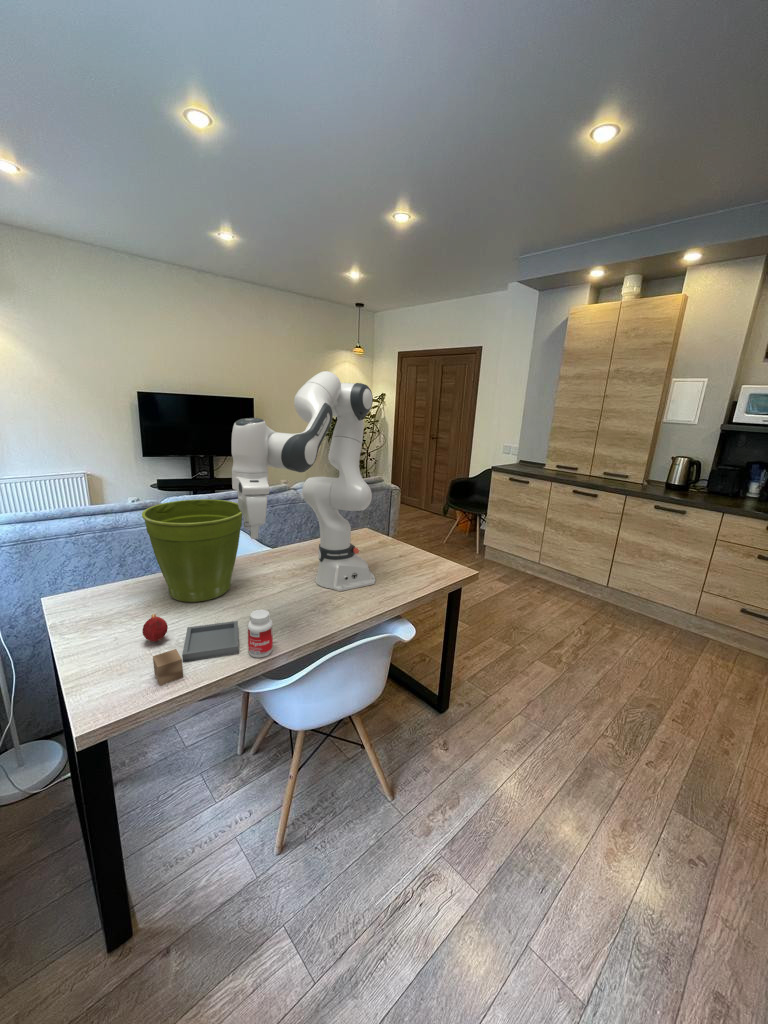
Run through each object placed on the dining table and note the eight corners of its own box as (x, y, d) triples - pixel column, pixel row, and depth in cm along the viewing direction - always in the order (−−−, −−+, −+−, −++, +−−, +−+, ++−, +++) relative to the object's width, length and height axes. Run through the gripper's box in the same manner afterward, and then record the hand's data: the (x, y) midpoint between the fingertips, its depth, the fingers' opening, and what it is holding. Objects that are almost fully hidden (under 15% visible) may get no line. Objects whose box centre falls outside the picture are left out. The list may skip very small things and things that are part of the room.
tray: (237, 627, 114) (237, 620, 114) (238, 653, 102) (238, 646, 102) (188, 634, 110) (187, 627, 109) (182, 662, 98) (182, 654, 97)
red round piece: (172, 641, 106) (169, 615, 104) (148, 650, 102) (145, 622, 100) (163, 633, 109) (161, 607, 107) (140, 641, 105) (137, 614, 103)
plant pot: (161, 576, 144) (154, 499, 137) (247, 570, 153) (244, 498, 146) (139, 617, 117) (129, 524, 109) (245, 607, 126) (242, 520, 118)
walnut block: (177, 666, 96) (176, 648, 95) (183, 677, 93) (181, 659, 91) (154, 674, 93) (152, 656, 92) (159, 686, 89) (157, 667, 88)
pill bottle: (246, 659, 100) (245, 620, 98) (249, 645, 106) (248, 608, 103) (272, 657, 102) (271, 619, 99) (273, 643, 107) (273, 607, 105)
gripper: (231, 476, 110) (232, 524, 113) (243, 489, 92) (244, 545, 95) (255, 476, 113) (255, 522, 116) (271, 488, 95) (271, 543, 98)
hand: (250, 533), depth 105 cm, fingers open, 8 cm apart
